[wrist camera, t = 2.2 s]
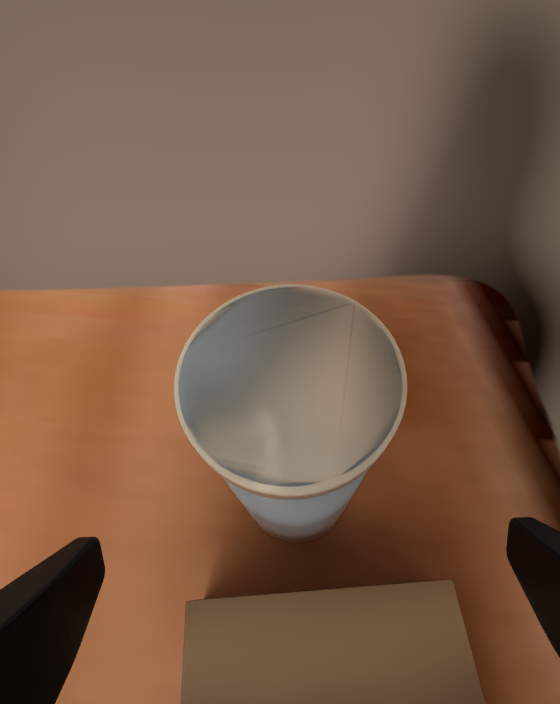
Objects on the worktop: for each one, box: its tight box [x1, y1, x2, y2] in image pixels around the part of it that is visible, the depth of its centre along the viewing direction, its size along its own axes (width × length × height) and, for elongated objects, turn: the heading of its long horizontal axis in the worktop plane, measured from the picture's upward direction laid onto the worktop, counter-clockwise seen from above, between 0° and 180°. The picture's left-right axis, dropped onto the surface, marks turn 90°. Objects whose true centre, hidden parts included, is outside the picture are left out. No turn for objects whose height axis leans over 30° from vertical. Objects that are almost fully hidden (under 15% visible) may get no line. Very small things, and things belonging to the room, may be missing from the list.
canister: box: [174, 284, 407, 543], centre depth 14 cm, size 5×5×12 cm
